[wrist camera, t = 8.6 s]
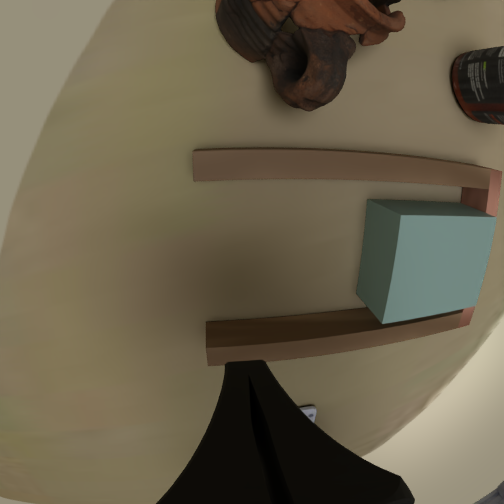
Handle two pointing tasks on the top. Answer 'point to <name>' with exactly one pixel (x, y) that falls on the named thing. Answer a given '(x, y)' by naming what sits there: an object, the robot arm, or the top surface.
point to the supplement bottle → (481, 84)
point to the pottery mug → (306, 40)
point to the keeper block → (422, 257)
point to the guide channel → (346, 321)
